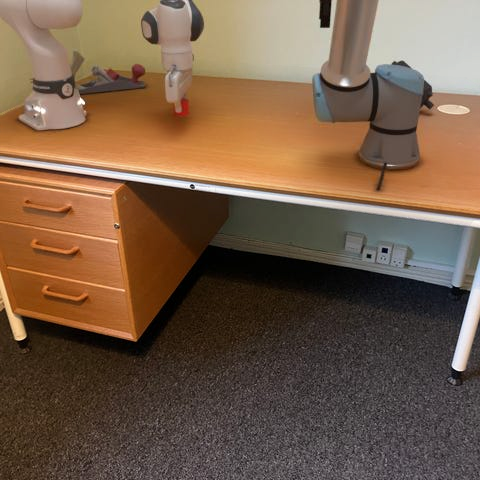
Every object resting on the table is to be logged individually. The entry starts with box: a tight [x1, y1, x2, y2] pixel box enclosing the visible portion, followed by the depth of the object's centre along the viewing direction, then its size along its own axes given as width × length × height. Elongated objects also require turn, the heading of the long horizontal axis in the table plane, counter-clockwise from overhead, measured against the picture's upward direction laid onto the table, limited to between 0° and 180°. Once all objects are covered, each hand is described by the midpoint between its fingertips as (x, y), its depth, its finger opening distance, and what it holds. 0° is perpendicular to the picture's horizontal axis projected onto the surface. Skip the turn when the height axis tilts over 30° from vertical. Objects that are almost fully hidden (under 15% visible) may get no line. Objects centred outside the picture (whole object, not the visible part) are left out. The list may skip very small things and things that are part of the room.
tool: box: [390, 60, 435, 111], centre depth 170 cm, size 6×19×15 cm, turn 51°
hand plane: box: [70, 48, 146, 95], centre depth 194 cm, size 7×31×15 cm, turn 107°
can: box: [172, 98, 190, 117], centre depth 159 cm, size 5×5×4 cm
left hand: (181, 108), depth 159 cm, fingers closed on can, 4 cm apart
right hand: (324, 23), depth 154 cm, fingers open, 13 cm apart
